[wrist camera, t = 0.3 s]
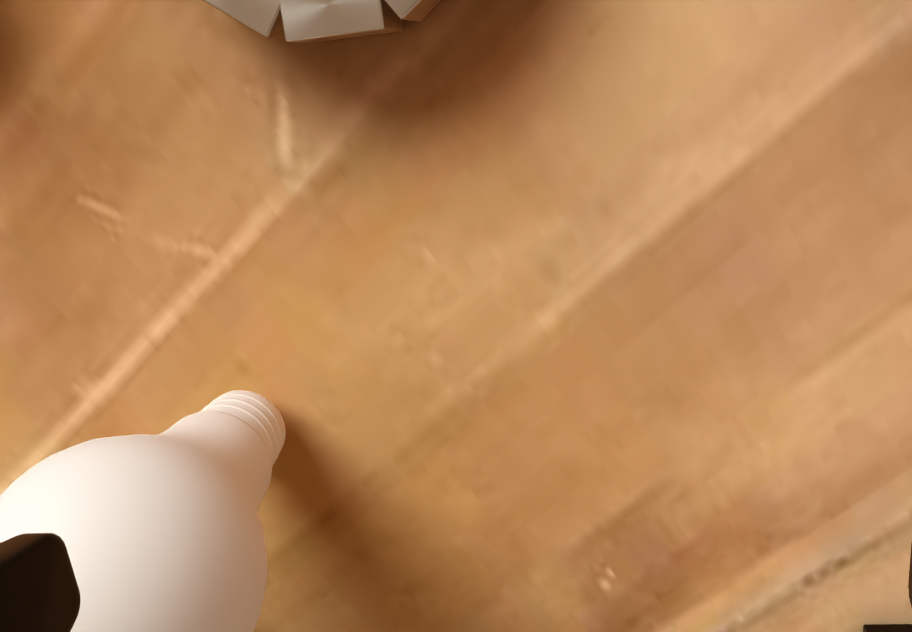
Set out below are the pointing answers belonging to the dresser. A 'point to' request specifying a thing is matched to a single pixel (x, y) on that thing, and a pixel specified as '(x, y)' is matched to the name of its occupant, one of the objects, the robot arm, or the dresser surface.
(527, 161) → the dresser surface
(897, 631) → the post
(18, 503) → the lightbulb
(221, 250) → the dresser surface
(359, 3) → the ring
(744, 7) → the dresser surface
